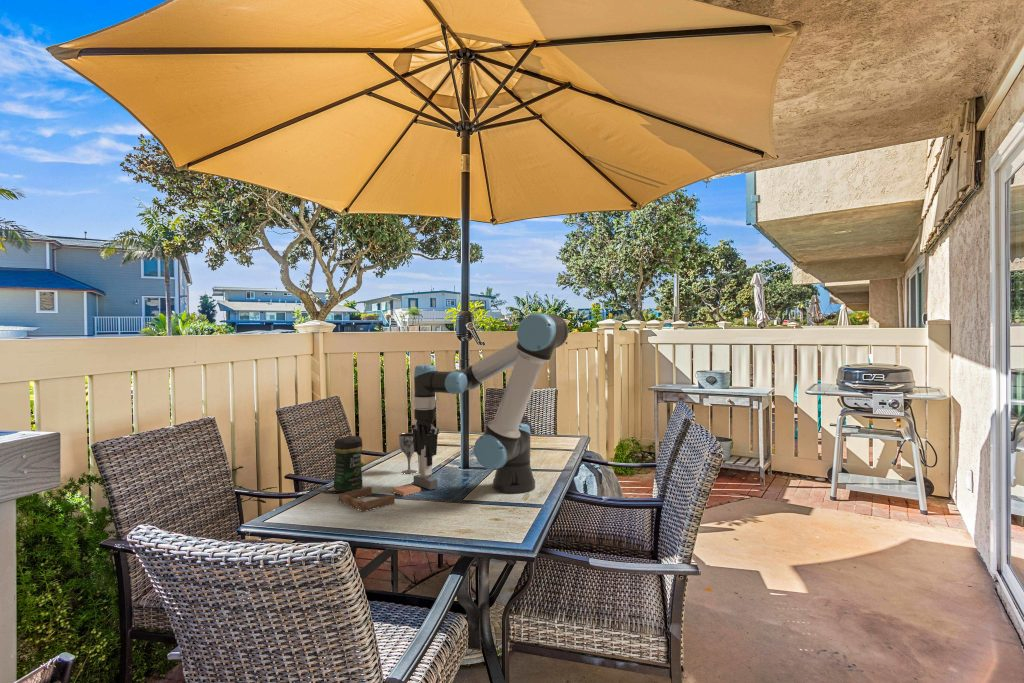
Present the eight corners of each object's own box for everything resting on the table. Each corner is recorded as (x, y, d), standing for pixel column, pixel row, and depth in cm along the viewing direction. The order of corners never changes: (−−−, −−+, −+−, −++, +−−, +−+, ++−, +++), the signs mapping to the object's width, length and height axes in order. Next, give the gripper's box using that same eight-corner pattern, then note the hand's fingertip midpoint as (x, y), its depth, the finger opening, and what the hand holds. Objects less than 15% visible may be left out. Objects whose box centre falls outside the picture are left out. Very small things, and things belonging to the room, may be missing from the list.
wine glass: (395, 474, 213) (395, 436, 213) (404, 469, 221) (403, 432, 220) (414, 475, 211) (414, 437, 211) (422, 470, 219) (422, 433, 219)
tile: (420, 493, 190) (420, 487, 190) (403, 497, 185) (403, 492, 185) (409, 489, 195) (409, 483, 195) (392, 493, 190) (392, 487, 190)
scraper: (437, 487, 193) (437, 451, 193) (430, 489, 191) (430, 452, 191) (420, 482, 200) (420, 447, 200) (413, 483, 198) (413, 448, 198)
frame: (394, 503, 178) (394, 495, 177) (362, 511, 169) (362, 503, 169) (369, 493, 188) (369, 486, 188) (338, 501, 180) (338, 493, 180)
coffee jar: (344, 494, 188) (344, 440, 187) (330, 490, 192) (329, 437, 192) (366, 487, 196) (366, 435, 195) (352, 483, 200) (351, 433, 200)
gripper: (447, 409, 192) (447, 475, 193) (420, 405, 203) (420, 467, 204) (430, 411, 187) (430, 480, 187) (403, 407, 198) (403, 471, 199)
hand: (425, 473), depth 196 cm, fingers closed on scraper, 3 cm apart
